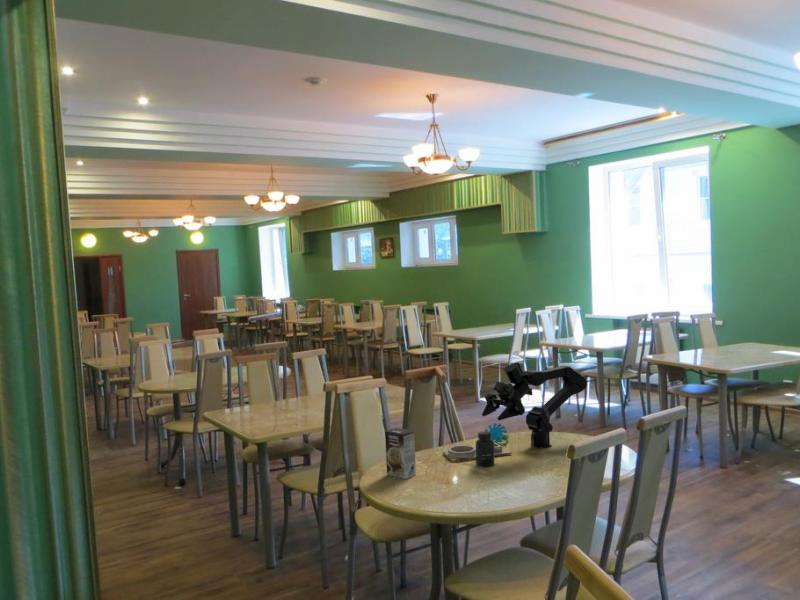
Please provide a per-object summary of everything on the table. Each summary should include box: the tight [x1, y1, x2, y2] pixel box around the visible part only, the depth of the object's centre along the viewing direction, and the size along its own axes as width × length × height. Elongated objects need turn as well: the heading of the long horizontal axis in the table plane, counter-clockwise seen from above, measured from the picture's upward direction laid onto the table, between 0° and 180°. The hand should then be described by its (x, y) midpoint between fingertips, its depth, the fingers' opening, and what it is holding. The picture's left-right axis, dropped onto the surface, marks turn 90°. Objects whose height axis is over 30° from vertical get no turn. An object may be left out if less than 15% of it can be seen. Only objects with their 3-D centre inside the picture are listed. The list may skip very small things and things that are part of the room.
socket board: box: [442, 442, 512, 463], centre depth 260 cm, size 24×12×3 cm, turn 105°
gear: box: [484, 422, 510, 444], centre depth 277 cm, size 11×6×10 cm
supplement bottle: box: [475, 431, 496, 468], centre depth 245 cm, size 7×7×12 cm
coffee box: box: [384, 427, 417, 480], centre depth 238 cm, size 9×6×16 cm
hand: (490, 417), depth 254 cm, fingers open, 9 cm apart
